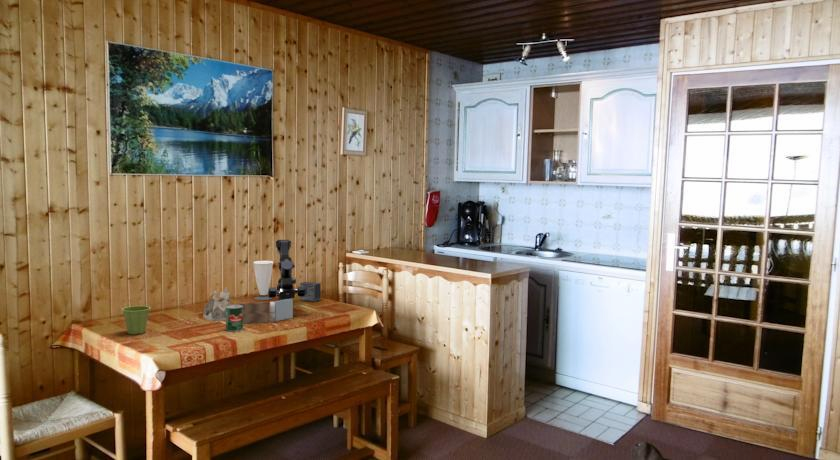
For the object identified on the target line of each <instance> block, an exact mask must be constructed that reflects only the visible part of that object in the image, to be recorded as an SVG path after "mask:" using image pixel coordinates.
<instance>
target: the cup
mask: <svg viewBox="0 0 840 460" xmlns="http://www.w3.org/2000/svg"><path fill="white" fill-rule="evenodd" d="M273 263H274V262H273V261H272V260H256V261H253V263H252V264H253V268H254V269H253V270H254V276H255V281H256V282H255V283H256V286H257V289H258V294H259V296H255V297H253V299H254V300H257V301H268V300H273V299H274V298H269V297H268V289H269V288H270V286H271V279H272V275H273V274H272V273H273V266H274V265H273Z"/></svg>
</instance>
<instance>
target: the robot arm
mask: <svg viewBox="0 0 840 460" xmlns="http://www.w3.org/2000/svg"><path fill="white" fill-rule="evenodd" d="M290 248H292V240H289V239H277V240H276V241H275V249H276V253H277V254H278V255H279V262H277V263H278V264H277V269H278V270H279V271H280V272H279V273H280V278H278V282H277V285H276V287H275V286H274V287H269V289H268V295H267V296H268V297H269V298H273V299H274V298H276V297H278V300H277V301H280V300H286V299H295V296H296V294H297V297H299V298H300V297H302V296H305V294H306V287H304V286H303V287H300V286H297V288H295V289H294V285H296V284H297V277H295V276H293V275H292V273H293V270H294V268H295V264H294V262H293V261H292V258H291V257H290V254H289V252H290V251H291V250H290Z"/></svg>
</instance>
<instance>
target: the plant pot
mask: <svg viewBox="0 0 840 460" xmlns="http://www.w3.org/2000/svg"><path fill="white" fill-rule="evenodd" d="M150 310H151V307H150V306H147V305H132V306H126V307H122V308H121V311H122V313H123V316H124V322H125V326H126V331H127V334H129V335H138V334H140V335H142V334H145V332H146V328H147V323H148V317H149V312H150Z"/></svg>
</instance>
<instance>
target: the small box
mask: <svg viewBox="0 0 840 460" xmlns="http://www.w3.org/2000/svg"><path fill="white" fill-rule="evenodd" d="M299 285H300V286H299V287H303V286H304V287H306V294H305V296H302V297H299V299H300V300H299V301H300V302H311V303H316V302H320V301H321V298H322V297H321V296H322V295H321V293H322V291H321V290H322V289H321V286H322V285H321V282H311V281H304V282H300V284H299Z"/></svg>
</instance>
